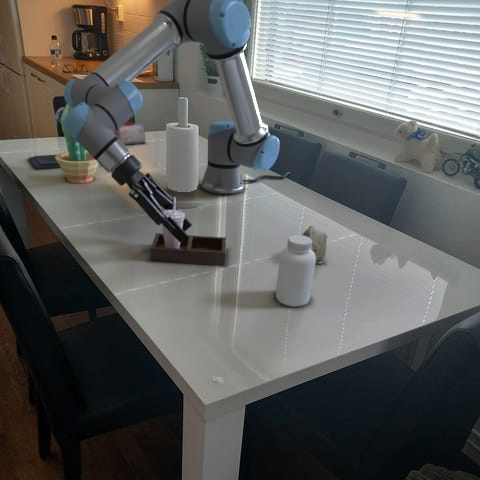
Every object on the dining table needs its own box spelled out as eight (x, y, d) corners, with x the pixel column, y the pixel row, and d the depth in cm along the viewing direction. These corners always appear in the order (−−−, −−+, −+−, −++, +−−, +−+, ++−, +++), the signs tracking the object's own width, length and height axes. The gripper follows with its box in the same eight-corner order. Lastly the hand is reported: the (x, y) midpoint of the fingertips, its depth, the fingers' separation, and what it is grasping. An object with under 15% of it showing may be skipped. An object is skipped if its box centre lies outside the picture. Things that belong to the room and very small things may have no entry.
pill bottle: (272, 290, 120) (279, 231, 112) (305, 291, 121) (314, 232, 113) (277, 307, 113) (285, 246, 105) (312, 308, 114) (322, 247, 106)
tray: (156, 245, 137) (155, 233, 135) (225, 249, 138) (226, 237, 136) (150, 261, 129) (150, 248, 127) (224, 265, 130) (225, 252, 128)
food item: (118, 146, 224) (116, 123, 218) (111, 142, 229) (110, 119, 224) (146, 144, 230) (146, 121, 225) (139, 140, 236) (138, 118, 230)
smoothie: (180, 255, 129) (180, 203, 122) (156, 251, 130) (155, 199, 123) (187, 245, 135) (188, 195, 127) (164, 242, 135) (164, 191, 128)
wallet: (34, 164, 185) (28, 154, 197) (34, 169, 186) (28, 158, 198) (88, 161, 194) (80, 151, 205) (89, 166, 195) (80, 156, 206)
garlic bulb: (307, 273, 134) (305, 245, 127) (291, 256, 140) (288, 228, 132) (336, 260, 136) (337, 231, 129) (319, 243, 142) (319, 214, 134)
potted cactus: (88, 170, 190) (81, 99, 177) (110, 181, 181) (105, 107, 168) (49, 177, 180) (39, 102, 167) (71, 188, 172) (62, 110, 158)
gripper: (121, 163, 131) (182, 228, 139) (97, 185, 115) (168, 257, 123) (140, 144, 128) (202, 211, 136) (119, 164, 112) (190, 239, 120)
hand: (186, 233), depth 130 cm, fingers closed on smoothie, 6 cm apart
